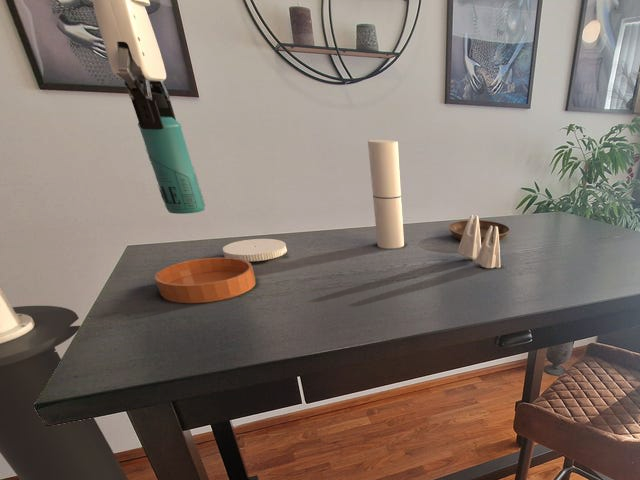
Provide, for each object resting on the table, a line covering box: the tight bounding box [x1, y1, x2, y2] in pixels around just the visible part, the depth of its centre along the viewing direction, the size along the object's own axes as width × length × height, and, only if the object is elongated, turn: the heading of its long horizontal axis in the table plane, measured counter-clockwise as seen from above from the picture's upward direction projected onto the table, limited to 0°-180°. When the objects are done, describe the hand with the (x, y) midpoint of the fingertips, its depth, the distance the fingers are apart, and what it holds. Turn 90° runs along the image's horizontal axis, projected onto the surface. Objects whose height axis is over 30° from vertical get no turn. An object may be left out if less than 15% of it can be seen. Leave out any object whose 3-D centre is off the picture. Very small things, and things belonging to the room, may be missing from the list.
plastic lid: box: [221, 238, 288, 262], centre depth 108 cm, size 14×14×2 cm
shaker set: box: [457, 214, 501, 269], centre depth 107 cm, size 12×4×11 cm, turn 44°
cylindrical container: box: [367, 139, 405, 250], centre depth 114 cm, size 7×7×25 cm
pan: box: [154, 257, 257, 304], centre depth 90 cm, size 17×17×4 cm
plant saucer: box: [448, 219, 511, 245], centre depth 129 cm, size 18×18×3 cm
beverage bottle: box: [137, 92, 206, 215], centre depth 78 cm, size 6×7×20 cm
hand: (160, 126), depth 75 cm, fingers closed on beverage bottle, 6 cm apart
